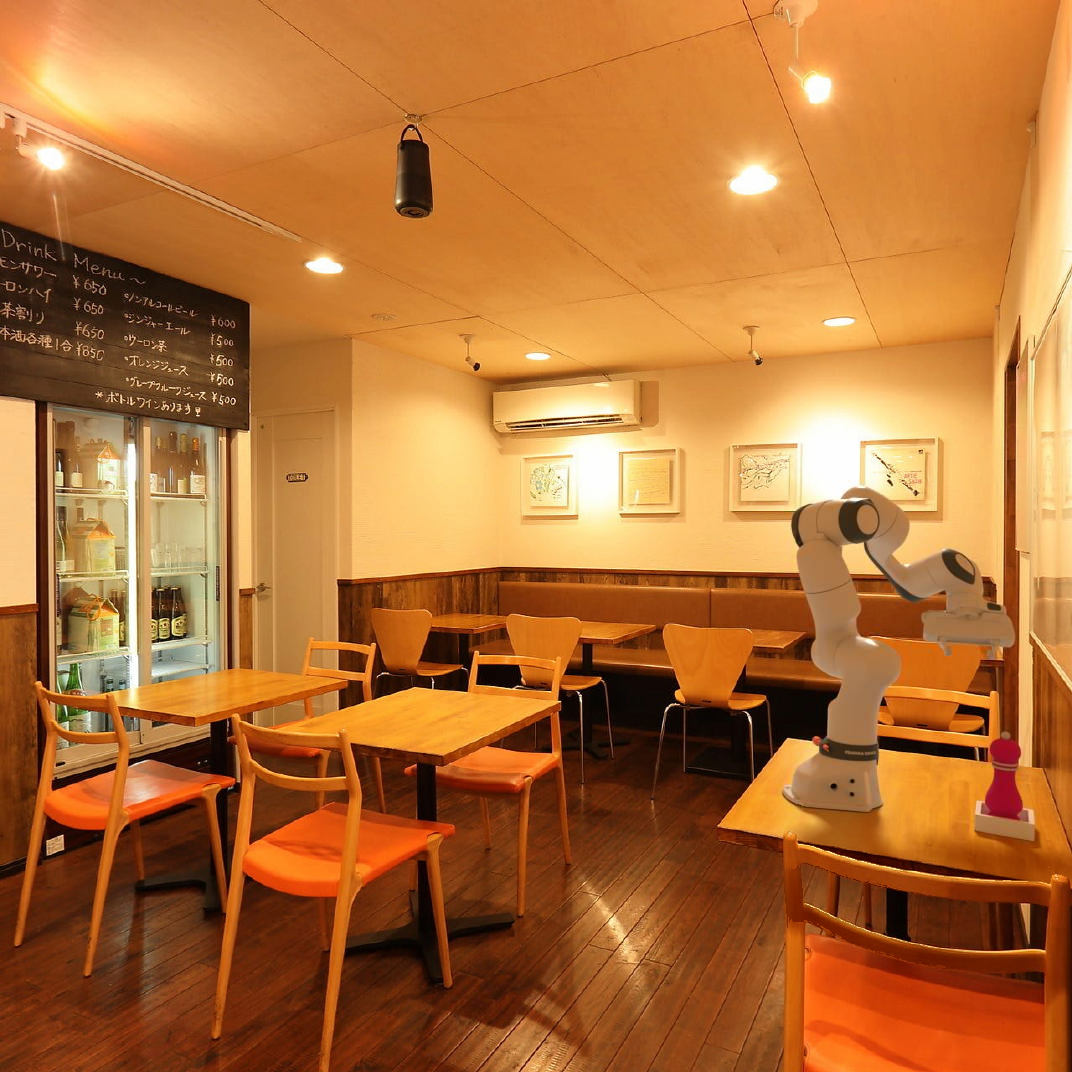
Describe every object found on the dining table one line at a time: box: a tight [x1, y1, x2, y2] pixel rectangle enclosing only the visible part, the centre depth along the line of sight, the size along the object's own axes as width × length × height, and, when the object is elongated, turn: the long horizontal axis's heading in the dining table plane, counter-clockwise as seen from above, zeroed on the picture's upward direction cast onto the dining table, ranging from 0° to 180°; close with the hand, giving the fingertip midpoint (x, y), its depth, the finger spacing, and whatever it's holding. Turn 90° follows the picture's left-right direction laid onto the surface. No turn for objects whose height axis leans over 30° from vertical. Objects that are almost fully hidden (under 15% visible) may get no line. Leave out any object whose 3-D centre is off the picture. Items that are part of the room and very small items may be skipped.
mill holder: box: [974, 800, 1036, 842], centre depth 177 cm, size 11×11×4 cm
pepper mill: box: [984, 731, 1024, 821], centre depth 178 cm, size 7×7×20 cm
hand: (969, 655), depth 199 cm, fingers open, 8 cm apart
